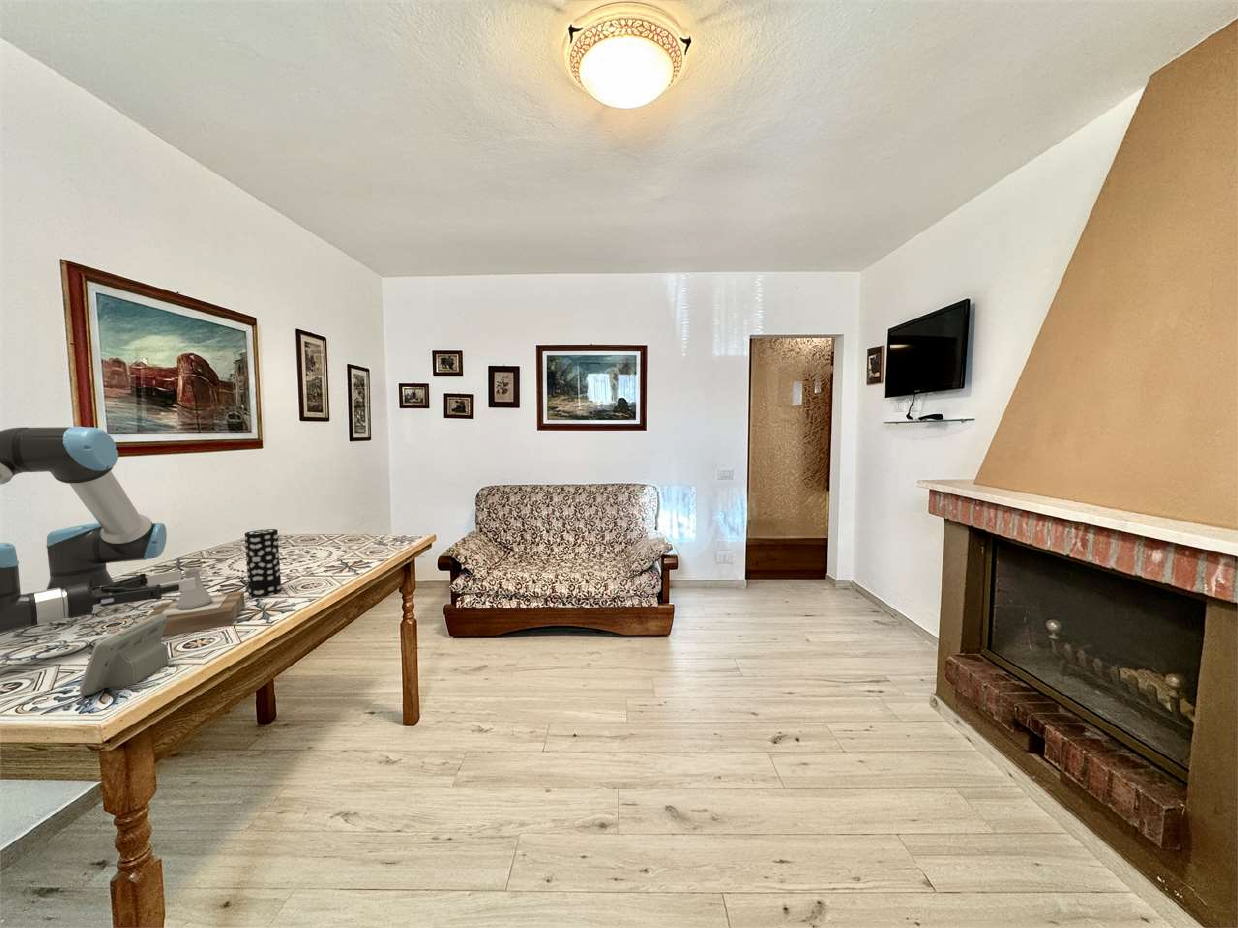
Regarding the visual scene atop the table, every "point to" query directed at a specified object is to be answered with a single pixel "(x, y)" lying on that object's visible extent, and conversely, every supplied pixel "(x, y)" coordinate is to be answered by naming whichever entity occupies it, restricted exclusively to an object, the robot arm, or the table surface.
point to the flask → (194, 592)
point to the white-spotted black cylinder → (263, 562)
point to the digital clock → (126, 656)
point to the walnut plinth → (200, 614)
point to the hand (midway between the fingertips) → (187, 578)
